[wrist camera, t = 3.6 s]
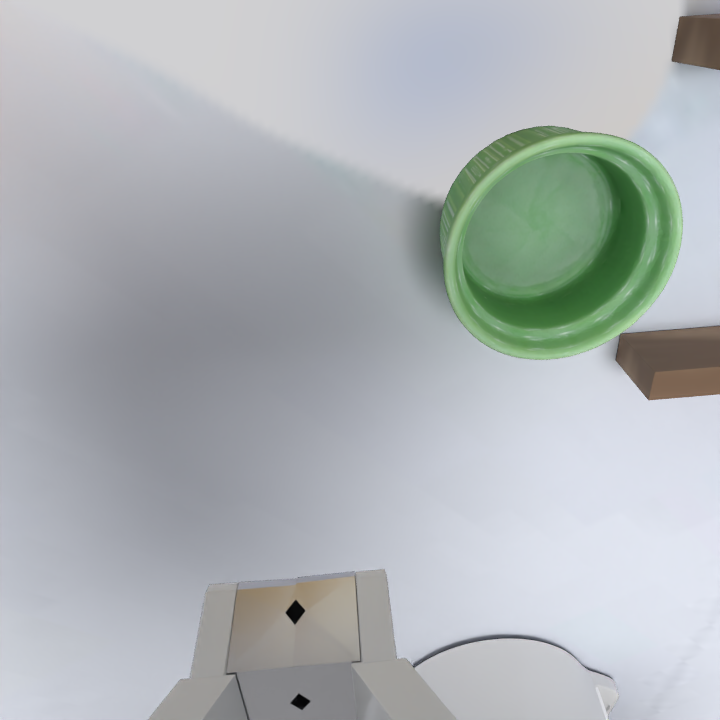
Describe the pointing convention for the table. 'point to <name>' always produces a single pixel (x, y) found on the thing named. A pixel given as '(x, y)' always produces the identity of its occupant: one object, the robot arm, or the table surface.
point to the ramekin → (558, 240)
